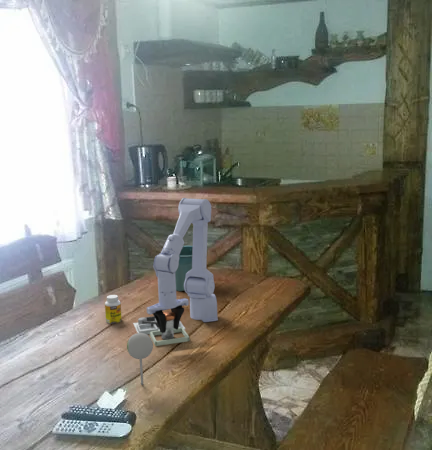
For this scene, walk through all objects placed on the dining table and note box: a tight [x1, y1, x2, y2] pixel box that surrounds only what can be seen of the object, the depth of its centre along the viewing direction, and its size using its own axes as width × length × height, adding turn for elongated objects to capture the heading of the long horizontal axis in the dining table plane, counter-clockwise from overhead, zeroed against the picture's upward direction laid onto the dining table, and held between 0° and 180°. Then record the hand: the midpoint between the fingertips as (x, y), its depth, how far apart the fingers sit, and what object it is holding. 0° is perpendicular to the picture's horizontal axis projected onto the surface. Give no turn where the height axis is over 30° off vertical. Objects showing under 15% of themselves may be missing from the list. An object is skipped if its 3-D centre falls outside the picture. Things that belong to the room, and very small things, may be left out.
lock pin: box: [160, 311, 175, 340], centre depth 197 cm, size 5×5×8 cm
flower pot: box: [175, 245, 202, 292], centre depth 253 cm, size 16×16×16 cm
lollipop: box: [126, 332, 154, 386], centre depth 167 cm, size 7×7×15 cm
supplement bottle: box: [104, 294, 123, 325], centre depth 214 cm, size 6×6×10 cm
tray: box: [149, 327, 191, 347], centre depth 198 cm, size 11×9×2 cm
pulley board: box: [132, 315, 186, 335], centre depth 209 cm, size 16×12×4 cm
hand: (169, 330), depth 197 cm, fingers closed on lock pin, 4 cm apart
